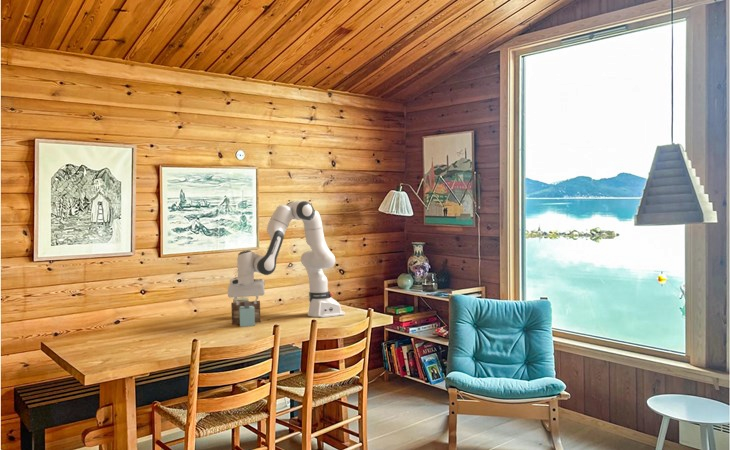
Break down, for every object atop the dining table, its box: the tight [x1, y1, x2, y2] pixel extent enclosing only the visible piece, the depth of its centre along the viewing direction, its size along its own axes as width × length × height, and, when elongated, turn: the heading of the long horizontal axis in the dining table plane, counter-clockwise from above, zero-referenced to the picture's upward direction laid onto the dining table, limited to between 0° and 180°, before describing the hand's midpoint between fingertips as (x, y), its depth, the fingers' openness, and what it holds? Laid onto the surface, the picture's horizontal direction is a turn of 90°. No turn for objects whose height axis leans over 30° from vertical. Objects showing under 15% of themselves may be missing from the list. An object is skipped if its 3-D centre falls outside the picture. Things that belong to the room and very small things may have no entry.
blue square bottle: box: [239, 300, 256, 328], centre depth 329 cm, size 8×9×14 cm
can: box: [232, 297, 249, 303], centre depth 352 cm, size 9×9×12 cm
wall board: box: [230, 300, 261, 325], centre depth 334 cm, size 16×6×12 cm, turn 105°
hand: (246, 304), depth 327 cm, fingers open, 8 cm apart
